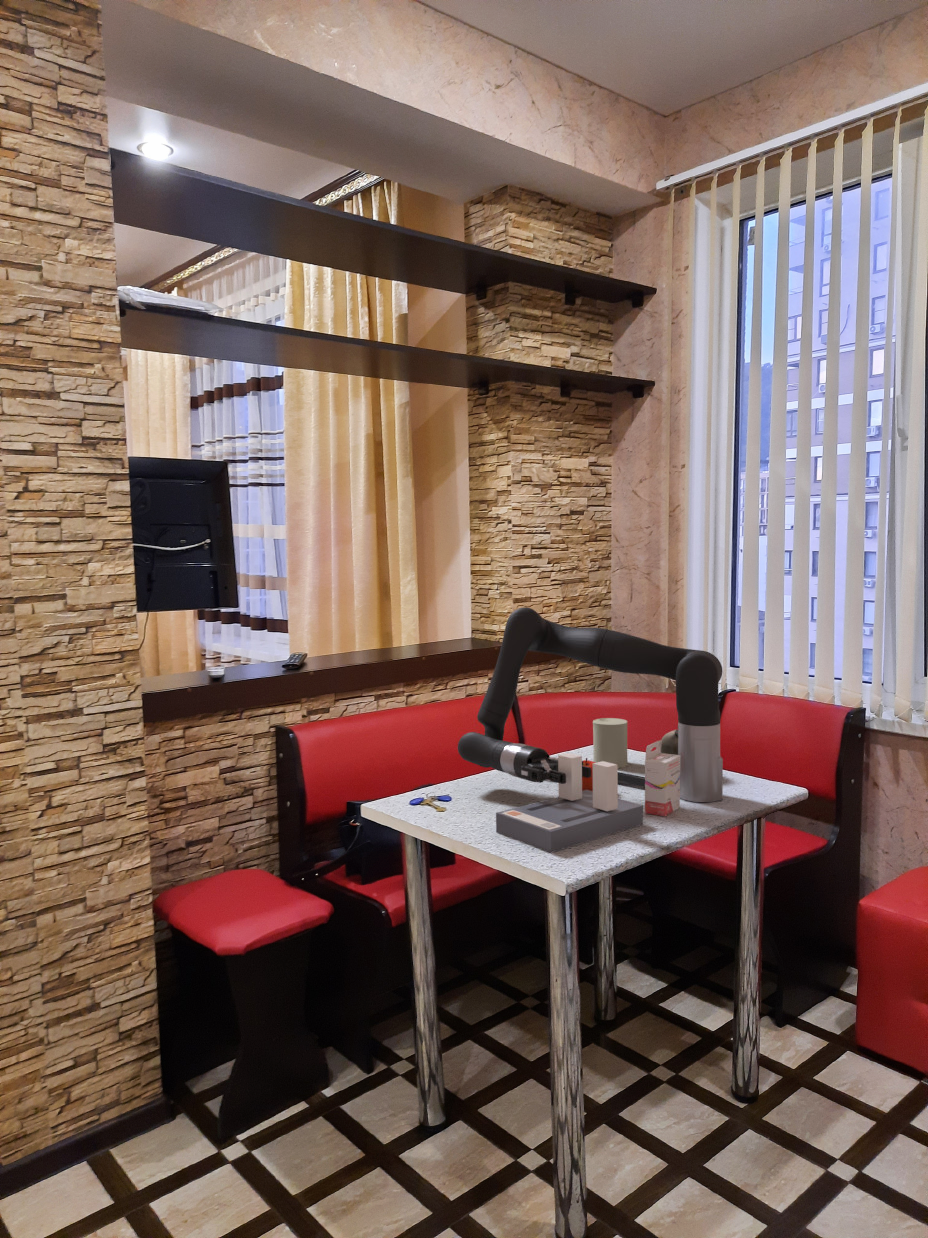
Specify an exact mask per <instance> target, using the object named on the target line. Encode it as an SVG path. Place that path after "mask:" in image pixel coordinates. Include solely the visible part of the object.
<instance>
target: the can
mask: <svg viewBox="0 0 928 1238" xmlns="http://www.w3.org/2000/svg"><path fill="white" fill-rule="evenodd" d="M592 731H593V732H592V736H593V737H592V738H593V739H592V740H593V742H592V743H593V753H592V754H593V758H592V759H593V760H592V761H593V762H596V763H597V762H601V761H604V762H608V763H613V764H617V767H618V769H621V768H625V767H628V765H629V762H628V720H626V719H623V718H616V717H615V718H614V717H602V718H596V719H593V720H592Z"/></svg>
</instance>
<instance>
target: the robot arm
mask: <svg viewBox="0 0 928 1238" xmlns="http://www.w3.org/2000/svg"><path fill="white" fill-rule="evenodd" d="M529 651H531V652H536V653H537V652H538V653H546V654H553V655H558V656H563V657H566V658H570V659H572V660H574V661H578V662H580V663H584V664H587V665H589V666H594V667H597V668H599V669H600V668H601V669H605V670H609V671H613V672H617V673H624V674H625V673H626V674H637V675H649V676H650V675H652V676H659V677H662V678H666V679H671V680H674V681H675V695H676V696H675V699H676V700H675V702H676V707H675V708H676V712H677V722H678V723H677V724H678V725H677V730H678V755H680V756H681V757H680V799H682V800H684V801H689V802H696V803H710V802H716V801H723V795H724V794H723V792H724V791H723V790H724V787H723V778H724V777H723V775H724V774H723V773H724V771H723V768H724V767H723V766H724V764H723V763H724V762H723V761H724V759H723V757H722V756H721V711H720V708H719V707H720V704H719V682H720V680H721V679H722V677H723V671H724V670H723V666H722V663H721V662H720V660H719V659H718V658H717V656H716V655H714V654H713V653H711V652H709V651H706V650H701V649H691V648H690V649H689V648H682V647H676V646H670V645H664V644H661V643H657V642H655V641H652V640H649V639H647V638H641V637H638V636H635V635H631V634H628V633H624V632H620V631H616V630H612V629H607V628H603V627H601V628H600V627H572V626H567V625H564V624H559V623H557V622H553V621H550V620H548V619H546V618H544V617H542V615H540V614H539V612H538V611H536V610H535V609H533V608H531V607H527V606H526V607H525V606H524V607H523V606H522V607H519V608H517V609H515V610H514V611H512V612H511V613H510V615H509V616H508V618H507V620H506V623H505V628H504V632H503V637H502V641H501V645H500V650H499V653H498V657H497V661H496V664H495V667H494V670H493V674H492V677H491V679H490V682H489V685H488V687H487V690H486V692H485V695H484V697H483V700H482V701H481V704H480V708H479V709H478V712H477V717H476V718H477V721H478V722H479V723H480V724H481V725H482V726H483V727H484V734H482V733H479V732H476V731H475V732H474V731H471V732H467V733H465V734H464V735H462V736H461V737H460V739H459V740H458V743H457V752H458V754H459V756H460V757H461V759H463V760H465V761H466V762H469V763H471V764H475V765H476V766H479V767H482V768H485V769H486V768H492V769H494V770H496V771H499V772H502V773H506V774H508V775H510V776H512V777H515V778H519V779H522V780H525V781H528V782H533V783H539V784H541V783H544V781H545V782H548V783H550V782H554V783H556V784H558V783H560V784H565V783H566V774H565V773H563V772H559V771H558V759H557V758H558V757H551V755H549V753H548V752H547V750H545V749H543V748H541V747H537V746H532V745H528V744H524V743H514V742H510V741H506V740H504V736H505V727H506V723H507V720H508V717H509V714H510V712H511V710H512V708H513V705H514V701H515V698H516V693H517V689H518V685H519V684H518V683H519V678H520V672H521V669H522V665H523V663H524V661H525V658H526V655H527V653H528V652H529ZM582 777H586V778H590V777H591V768H590V767H587V766H583V760H582Z"/></svg>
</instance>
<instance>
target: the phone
mask: <svg viewBox="0 0 928 1238" xmlns="http://www.w3.org/2000/svg"><path fill="white" fill-rule="evenodd" d="M618 786H623V787H626V788H632V789H635V790H636V789H637V790H642V791H645V776H641V775H635V774H630V773H624V772H620V771H618Z"/></svg>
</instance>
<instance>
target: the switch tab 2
mask: <svg viewBox="0 0 928 1238" xmlns="http://www.w3.org/2000/svg"><path fill="white" fill-rule="evenodd" d="M618 769H619V768H618V767H617V764H613V763H608V762H604V761H601V762H597V763H593V807H594V808H598V809H601V810H604V811H611V810H614V809H618V799H619V797H618V795H619V793H618V790H619V788H618V787H619V785H618V772H619V770H618Z"/></svg>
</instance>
